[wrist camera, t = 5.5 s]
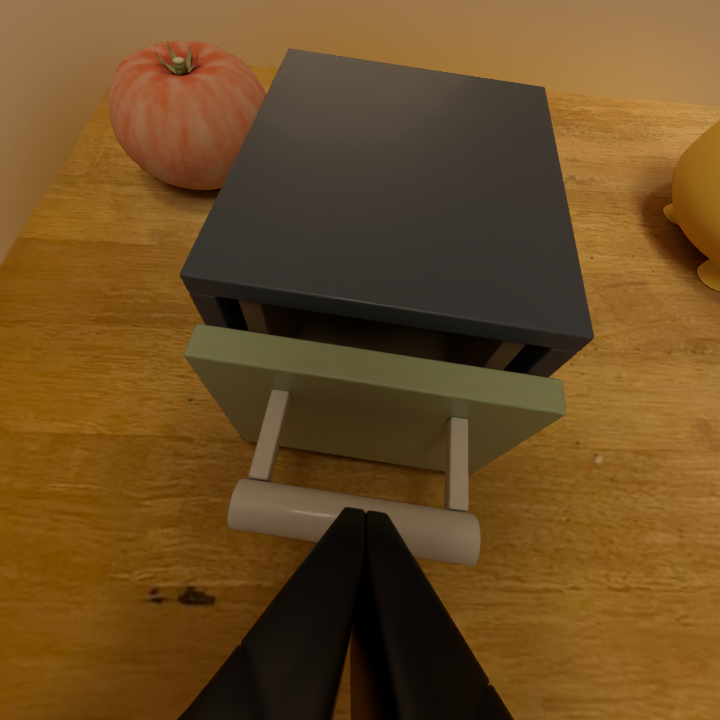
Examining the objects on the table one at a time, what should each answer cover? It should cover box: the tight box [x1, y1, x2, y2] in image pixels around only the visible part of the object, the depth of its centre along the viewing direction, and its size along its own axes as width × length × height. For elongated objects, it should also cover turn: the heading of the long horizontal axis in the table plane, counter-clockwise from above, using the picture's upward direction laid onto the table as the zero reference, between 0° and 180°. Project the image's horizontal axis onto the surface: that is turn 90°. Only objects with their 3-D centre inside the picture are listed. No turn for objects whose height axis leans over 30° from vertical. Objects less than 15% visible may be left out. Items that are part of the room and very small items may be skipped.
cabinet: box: [180, 49, 594, 378], centre depth 20 cm, size 15×13×11 cm
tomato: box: [108, 41, 266, 190], centre depth 27 cm, size 11×11×8 cm
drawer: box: [184, 300, 566, 566], centre depth 17 cm, size 18×12×9 cm, turn 172°
